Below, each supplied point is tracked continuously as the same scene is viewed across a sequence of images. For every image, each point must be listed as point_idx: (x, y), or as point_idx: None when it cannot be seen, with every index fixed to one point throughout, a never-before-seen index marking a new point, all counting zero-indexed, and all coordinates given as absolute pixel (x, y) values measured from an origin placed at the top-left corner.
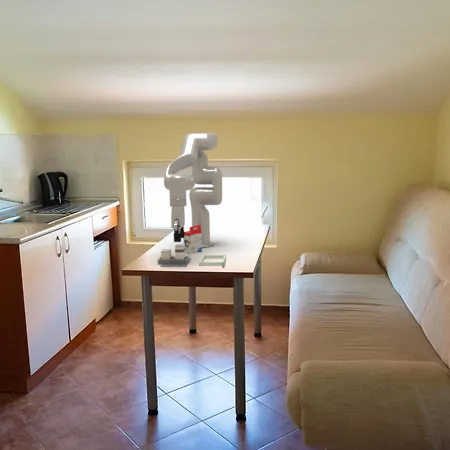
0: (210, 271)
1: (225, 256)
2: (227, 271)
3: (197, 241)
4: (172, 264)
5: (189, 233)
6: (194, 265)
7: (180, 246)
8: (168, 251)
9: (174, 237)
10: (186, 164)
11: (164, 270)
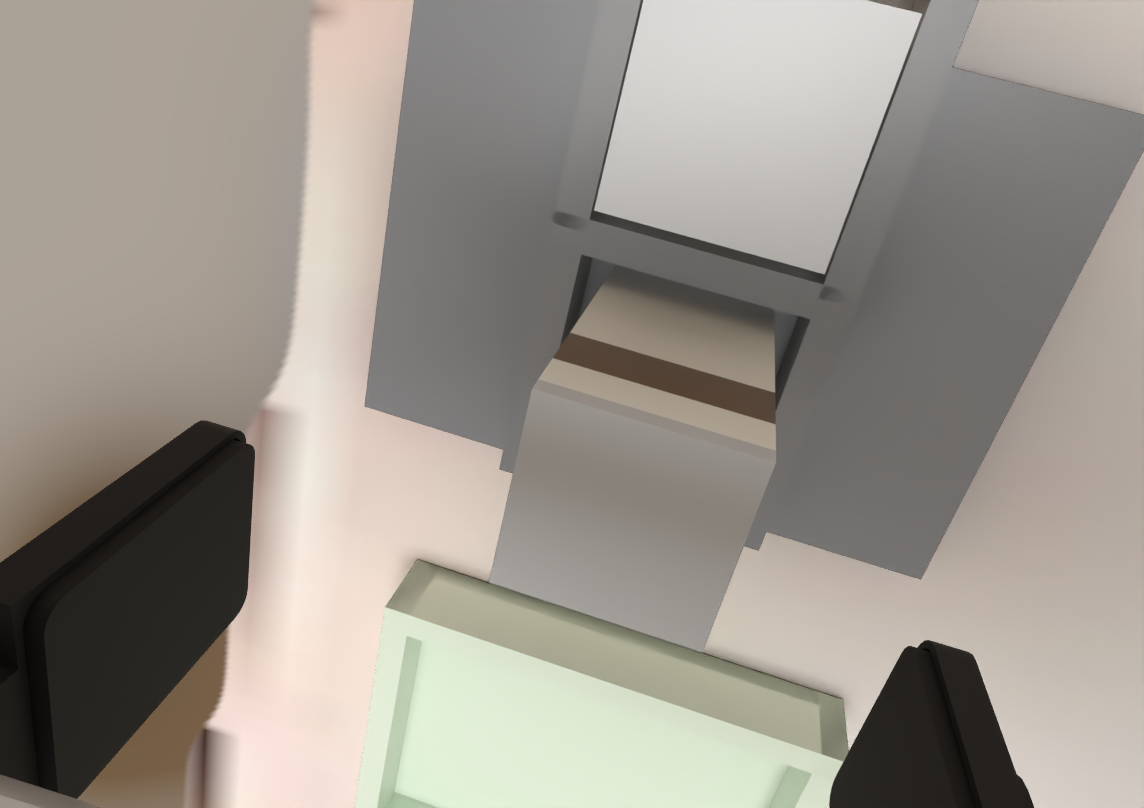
0: (244, 630)
1: None
2: (236, 769)
3: None
4: (555, 202)
5: None
6: None
7: (504, 519)
8: (602, 178)
9: (102, 512)
10: None
11: (342, 29)
